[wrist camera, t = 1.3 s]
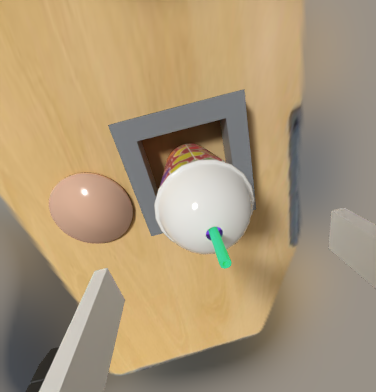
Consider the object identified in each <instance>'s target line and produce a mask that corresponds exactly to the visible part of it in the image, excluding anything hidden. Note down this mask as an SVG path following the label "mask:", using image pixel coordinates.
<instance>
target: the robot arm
mask: <svg viewBox="0 0 376 392" xmlns="http://www.w3.org/2000/svg"><path fill="white" fill-rule="evenodd" d="M328 247H329V249H330V250H331V251H332V252H333V253H334V254H335V255H337V256H338V257H339V258H340V259H341V260H342V261H344V262H345V263H346V264H347V265H348V266H349V267H350V268H352V269H353V270H354V271H355V272H356V273H358V274H359V275H360V276H361V277H362V278H363V279H365V280H366V281H367V282H368V283H369V284H371V285H372V286H373V287H374V288H375V289H376V224H374V223H372V222H370V221H369V220H367V219H365V218H363V217H361V216H359V215H358V214H356V213H354V212H352V211H350V210H348V209H347V208H345V207H344V208H340V209H337V210H332V211H331V221H330V234H329V246H328ZM124 302H125V299H124V297H123V295H122V294H121V292H120V290H119V288H118V286H117V284H116V283H115V281H114V279H113V277H112V275H111V273H110V272H109V270H108V268H105V269H101V270H97V271H94V273H93V275H92V278H91V280H90V282H89V284H88V286H87V289H86V291H85V293H84V295H83V297H82V299H81V302H80V304H79V306H78V308H77V310H76V312H75V315H74V317H73V319H72V321H71V323H70V325H69V328H68V330H67V332H66V334H65V337H64V338H63V341H62V343H61V345H60V347H58V348H54V349H51V350H50V352H49V353H48V354H47V355H46V357H45V358H44V359H43V361H42V362H41V363H40V364H39V366H38V369H37V370H36V373H35V374H34V376H33V378H32V380H31V384H30V385H29V386H28V388H27V390H26V392H104V389H105V384H106V380H107V375H108V372H109V367H110V363H111V359H112V354H113V350H114V345H115V341H116V337H117V332H118V328H119V324H120V319H121V315H122V311H123V306H124Z"/></svg>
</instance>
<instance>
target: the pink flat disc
mask: <svg viewBox="0 0 376 392" xmlns="http://www.w3.org/2000/svg"><path fill="white" fill-rule="evenodd" d="M49 209H50V213H51V216H52V218H53V220H54V222H55V223H56V224H57V226H58V227H59V228H60V229H61V230H62V231H63V232H65V233H66V234H68V235H69V236H71V237H73V238H75V239H77V240H80V241H83V242H87V243H106V242H110V241H113V240H115V239H117V238H119V237H120V236H121V235H123V234H124V233H125V232H126V231H127V229H128V228H129V226H130V224H131V221H132V217H133V207H132V203H131V200H130V198H129V196H128V194H127V193H126V191H125V190H124V189H123V188H122V187H121V186H120V185H119V184H118V183H116V182H115V181H113V180H112V179H110V178H108V177H106V176H103V175H100V174H95V173H77V174H73V175H70V176H68V177H66V178H64V179H63V180H61V181H60V182H59V183H58V184H57V185H56V186H55V187H54V188H53V190H52V192H51V194H50V198H49Z"/></svg>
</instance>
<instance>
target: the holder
mask: <svg viewBox="0 0 376 392" xmlns="http://www.w3.org/2000/svg"><path fill="white" fill-rule="evenodd" d="M217 120H220V126H221V133H222V139H223V145H224V152H225V158H226V163H229V164H231V165H233V166H234V167H236V168H237V169H238V170H240V171H241V172H242V173H244V175H245V176H246V178H247V179H248V181H249V183H250V184H251V186H252V190H253V195H254V206H253V210H255V209H256V203H255V193H254V183H253V173H252V163H251V153H250V143H249V133H248V122H247V112H246V102H245V92H244V90H240V91H236V92H232V93H228V94H224V95H220V96H217V97H213V98H209V99H205V100H201V101H198V102H194V103H190V104H186V105H182V106H179V107H175V108H171V109H167V110H163V111H160V112H156V113H152V114H148V115H144V116H141V117H137V118H133V119H129V120H125V121H122V122H118V123H114V124H111V125H108V126H109V129H110V131H111V134H112V136H113V139H114V142H115V144H116V147H117V149H118V152H119V154H120V157H121V159H122V162H123V165H124V167H125V170H126V172H127V175H128V177H129V180H130V182H131V185H132V188H133V190H134V193H135V195H136V198H137V200H138V203H139V205H140V208H141V211H142V213H143V216H144V218H145V221H146V223H147V226H148V228H149V231H150V234H151V236H154V235H158V234H162V233H163V232H162V231H161V229H160V227H159V225H158V223H157V221H156V218H155V207H154V204H155V200H156V196H157V193H158V189H157V186H156V183H155V180H154V177H153V174H152V171H151V168H150V165H149V162H148V159H147V156H146V153H145V150H144V147H143V144H142V141H141V140H144V139H148V138H152V137H156V136H159V135H163V134H167V133H171V132H175V131H179V130H182V129H186V128H190V127H194V126H198V125H202V124H205V123H209V122H213V121H217Z"/></svg>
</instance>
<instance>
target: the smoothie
mask: <svg viewBox="0 0 376 392" xmlns="http://www.w3.org/2000/svg"><path fill="white" fill-rule="evenodd" d="M253 206H254V195H253V190H252V186H251V184H250V183H249V181H248V179H247V178H246V176H245V175H244V173H242V172H241V171H240V170H238V169H237V168H236V167H234V166H233V165H231V164H229V163H226V162H225V161H223V160H222V159H220V158H219V157H217V156H216V155H214V154H213V153H211V152H210V151H208V150H206V149H205V148H203V147H202V146H200V145H197V144H184V145H181V146H179V147H177V148H176V149H174V150H173V151H172V152H171V154H170V155H169V157H168V158H167V162H166V166H165V170H164V173H163V177H162V181H161V184H160V188H159V189H158V193H157V196H156V200H155V204H154V207H155V218H156V221H157V223H158V225H159V227H160V229H161V231H162V232H163V233H164V234H165V235H166V236H167V237H168V238H169V239H170V240H171V241H173V242H175V243H176V244H177V245H178V246H180V247H182V248H184V249H186V250H188V251H190V252H193V253H198V254H215V253H216V255H217V258H218V261H219V264H220V266H221V268H224V269H225V268H228V267H230V266H231V260H230V258H229V255H228V253H227V249H228V248H230V247H231V246H233V245H234V244H236V243H237V242H238V241H239V240H240V238H241V237H242V236H243V235H244V233H245V231H246V229H247V227H248V225H249V223H250V219H251V215H252V212H253Z"/></svg>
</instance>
